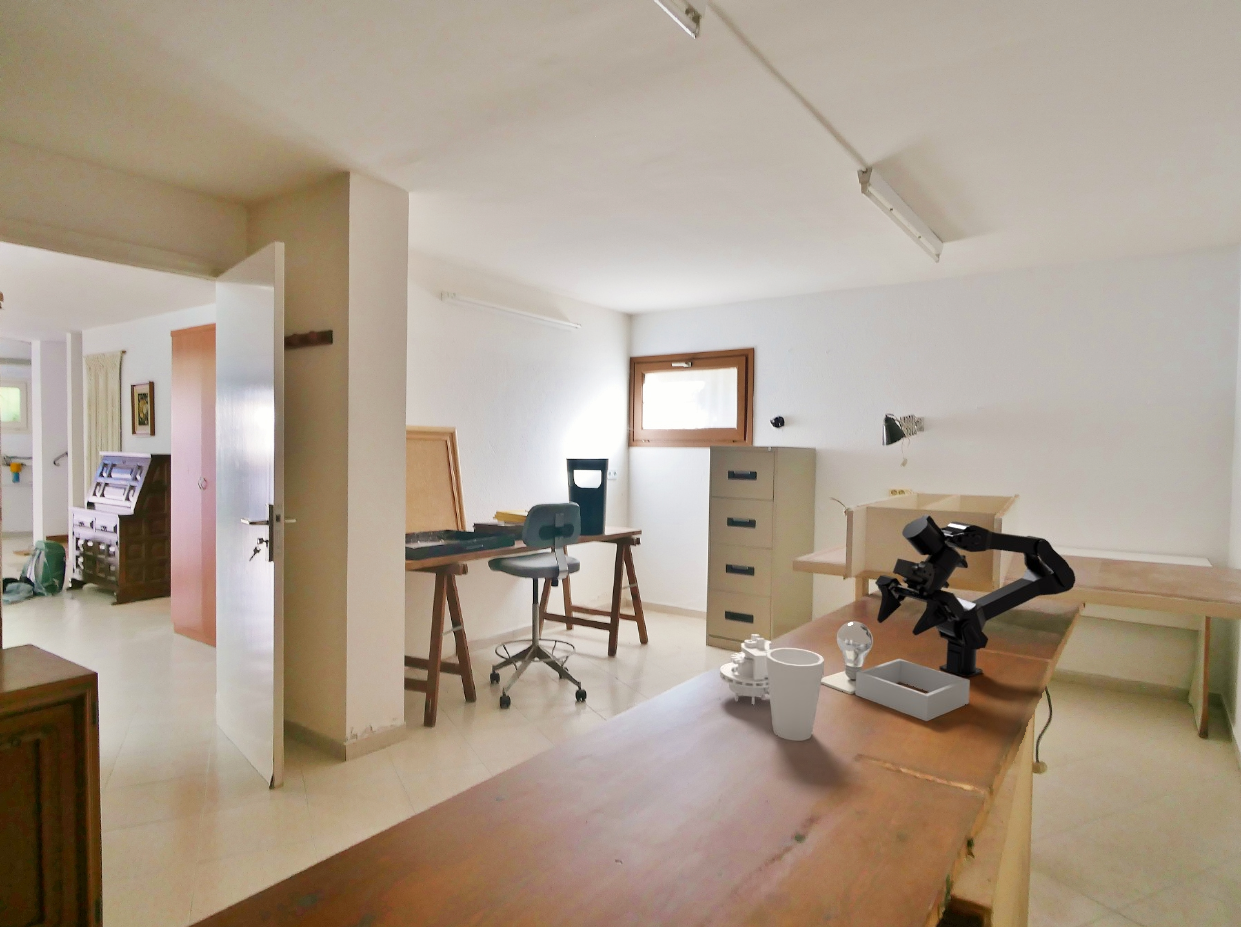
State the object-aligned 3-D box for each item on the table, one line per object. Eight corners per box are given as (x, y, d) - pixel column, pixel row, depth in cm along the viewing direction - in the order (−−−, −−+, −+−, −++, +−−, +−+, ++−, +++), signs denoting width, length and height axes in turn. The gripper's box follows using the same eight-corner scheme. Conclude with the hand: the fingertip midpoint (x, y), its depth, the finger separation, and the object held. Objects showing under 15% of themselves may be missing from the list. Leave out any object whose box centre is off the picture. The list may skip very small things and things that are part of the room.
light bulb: (864, 689, 137) (867, 628, 136) (830, 680, 141) (832, 622, 141) (875, 679, 143) (878, 621, 142) (842, 671, 147) (844, 615, 146)
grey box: (898, 680, 144) (899, 658, 144) (968, 703, 132) (969, 680, 132) (855, 694, 135) (856, 672, 135) (926, 721, 123) (927, 696, 123)
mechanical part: (720, 685, 139) (722, 627, 138) (782, 691, 136) (784, 631, 136) (717, 707, 127) (719, 644, 127) (785, 714, 125) (787, 649, 125)
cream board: (852, 670, 149) (852, 668, 149) (886, 682, 142) (886, 679, 142) (816, 681, 142) (816, 679, 142) (850, 694, 135) (850, 691, 135)
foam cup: (822, 726, 121) (825, 652, 120) (819, 748, 112) (822, 669, 111) (767, 717, 124) (769, 645, 123) (760, 739, 115) (762, 661, 114)
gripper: (883, 538, 153) (842, 592, 149) (956, 553, 136) (913, 615, 132) (907, 570, 156) (869, 624, 152) (982, 589, 140) (941, 650, 136)
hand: (895, 627), depth 143 cm, fingers open, 9 cm apart
